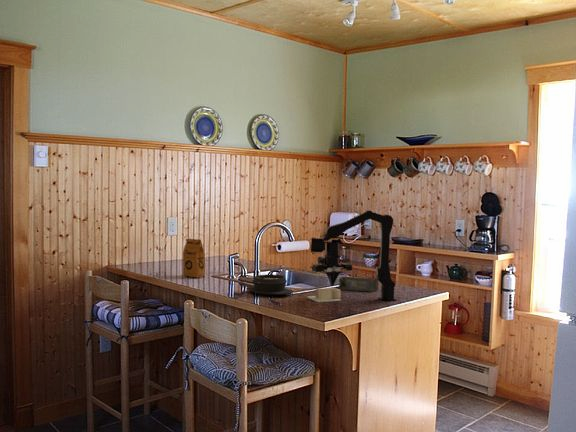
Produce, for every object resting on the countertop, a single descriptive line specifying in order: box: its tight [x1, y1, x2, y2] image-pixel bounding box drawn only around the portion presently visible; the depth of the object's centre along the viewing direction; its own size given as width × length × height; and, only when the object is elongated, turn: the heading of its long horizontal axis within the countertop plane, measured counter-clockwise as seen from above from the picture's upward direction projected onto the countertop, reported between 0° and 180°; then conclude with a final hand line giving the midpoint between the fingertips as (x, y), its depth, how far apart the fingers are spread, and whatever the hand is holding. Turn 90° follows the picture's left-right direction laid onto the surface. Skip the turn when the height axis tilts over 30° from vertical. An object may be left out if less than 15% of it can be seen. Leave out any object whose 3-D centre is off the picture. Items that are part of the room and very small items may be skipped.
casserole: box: [245, 274, 294, 297], centre depth 270 cm, size 25×19×8 cm
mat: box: [306, 295, 342, 303], centre depth 259 cm, size 12×12×1 cm
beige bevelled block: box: [315, 287, 342, 300], centre depth 259 cm, size 6×4×10 cm
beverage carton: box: [338, 275, 379, 293], centre depth 285 cm, size 8×19×7 cm, turn 70°
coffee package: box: [182, 238, 206, 278], centre depth 317 cm, size 10×12×22 cm
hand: (332, 285), depth 260 cm, fingers closed
